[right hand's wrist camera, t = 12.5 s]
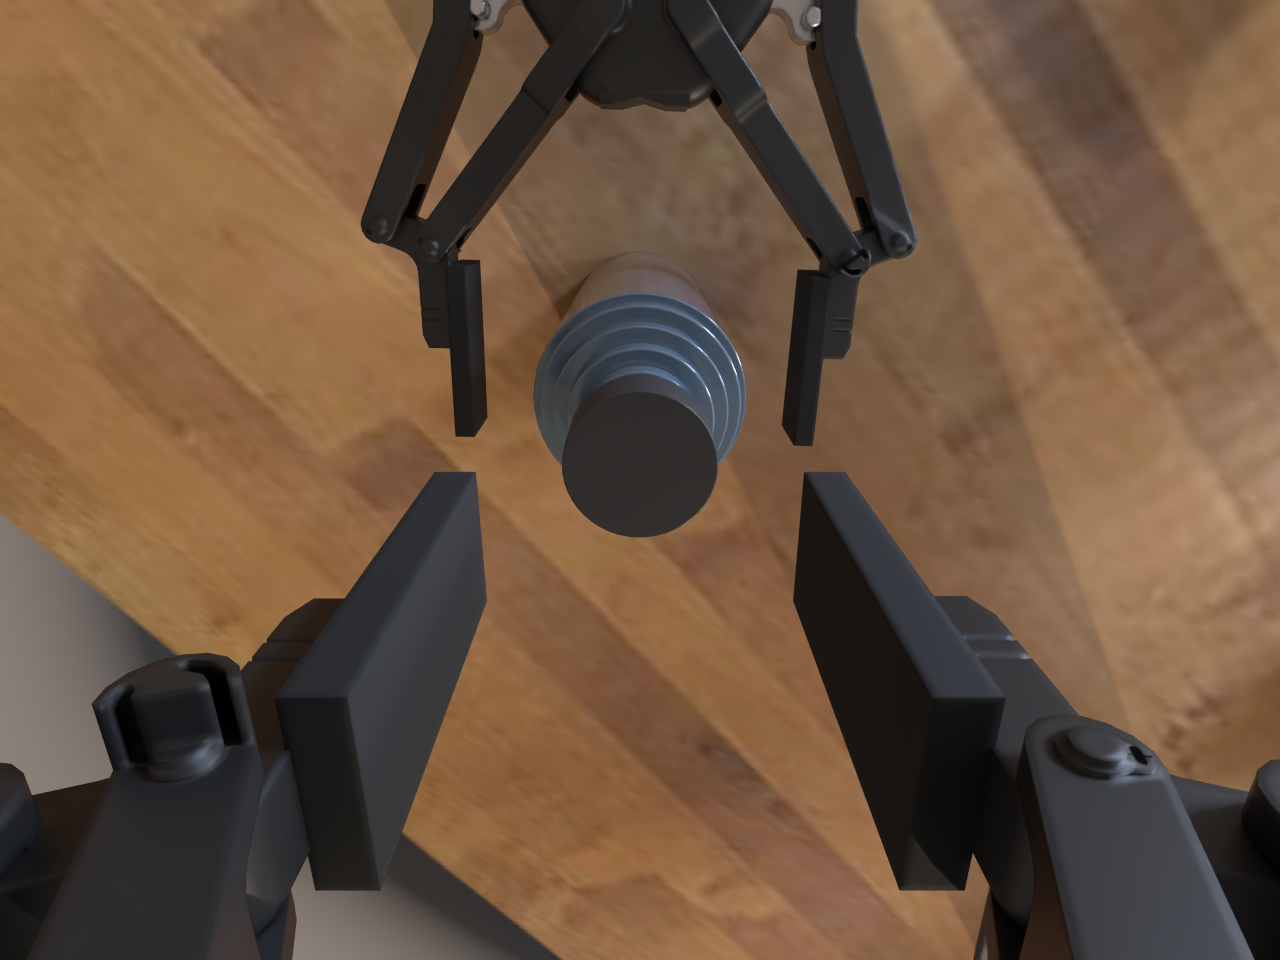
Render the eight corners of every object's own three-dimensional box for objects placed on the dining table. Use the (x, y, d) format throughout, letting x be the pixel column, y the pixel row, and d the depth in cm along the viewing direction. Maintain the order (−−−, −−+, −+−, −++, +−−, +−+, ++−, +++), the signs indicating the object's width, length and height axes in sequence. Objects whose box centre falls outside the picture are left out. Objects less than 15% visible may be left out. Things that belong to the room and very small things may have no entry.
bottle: (636, 416, 38) (633, 627, 20) (543, 319, 36) (447, 454, 18) (736, 326, 36) (831, 468, 18) (643, 221, 35) (647, 262, 17)
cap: (636, 536, 20) (635, 566, 19) (538, 441, 19) (529, 463, 18) (741, 448, 19) (750, 471, 18) (644, 343, 18) (644, 357, 17)
